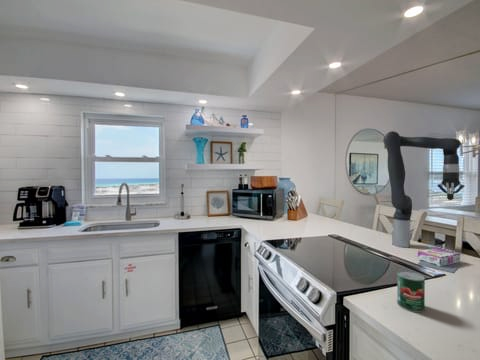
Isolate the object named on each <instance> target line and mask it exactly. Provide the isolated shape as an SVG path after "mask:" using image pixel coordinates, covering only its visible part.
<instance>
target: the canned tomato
mask: <svg viewBox="0 0 480 360" xmlns="http://www.w3.org/2000/svg"><path fill="white" fill-rule="evenodd" d="M396 274H397V278H396V279H397V280H396V281H397V285H396V286H397V289H396V291H397V295H396V296H397V297H396V299H397V301H396V302H397V303H396V304H397V305H398V306H399V307H400V308H402V309H404V310H406V311H408V312H412V313H423V312H425V311H426V310H425V308H426V307H425V305H426V304H425V301H426V299H425V297H426V296H425V293H426V292H425V291H426V290H425V288H426V286H425V285H426V283H425V282H426V280H425V279H426V278H425V276H424V275H422V274H420V273H417V272H414V271H410V270H399V271H397V273H396Z"/></svg>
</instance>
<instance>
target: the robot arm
mask: <svg viewBox="0 0 480 360" xmlns="http://www.w3.org/2000/svg"><path fill="white" fill-rule="evenodd" d="M383 143H384V145H385V146H386V152H387V172H388V177H389V184H390V192H391V205H392V206H393V207H394V208H395V212H394V214H393V216H392V218H393V224H392V225H393V226H392V230H391V245H392V246H395V247H399V248H410V247H411V217H412V215H413V214H412V212H413V211H412V210H413V201H412V198H411V197H410V196H409V195H407V194H406V193H405V181H406V169H405V168H406V167H405V163H404V158H403V154H402V151H401V149H402V148H401V147H410V148H411V147H412V148H420V149H421V148H422V149H429V150H436V149H438V150H442V155H443V166H442V181H441V182H440V183H439V184H437V187H438V188H439V189H440V190H441V191H442V192H443V193H445V194H446V196H447V197H446V199H447V200H448V201H453V200H455V199H454V197H455V196H454V195H455V194H458V193H460V191H461V190H462V189H464V187H465V185H464V184H462V183H461V181H460V156H459V155H458V149H459V148H460V147H461V146H462V144H461V141H460V140H459V139H458V138H452V137H450V138H449V137H430V136H429V137H428V136H415V137H414V136H413V137H411V136H402V135H400V134H399V133H398V132H397V131H392V130H391V131H388V132H387V133H386V134H385V135H384V137H383ZM443 186H444V187H443ZM457 187H458V188H457ZM455 188H457V189H456V190H455Z"/></svg>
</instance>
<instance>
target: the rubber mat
mask: <svg viewBox="0 0 480 360" xmlns="http://www.w3.org/2000/svg"><path fill="white" fill-rule="evenodd" d="M417 265H418V266H421V267H426V268H431V269H433V270H434V269H435V270H439V271H442V272H446V273H451V274H454V273H455V271H456V270H457V269H458V268H459V267H460V266H461V265H462V263H461V262H459V263H455V264H450V265H445V266H437V265H434V264H431V263H428V262H425V261H422V260H419V262H417Z"/></svg>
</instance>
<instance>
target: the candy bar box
mask: <svg viewBox="0 0 480 360" xmlns="http://www.w3.org/2000/svg"><path fill="white" fill-rule="evenodd" d="M417 260H419V261H425V262H428V263H431V264H434V265H437V266H445V265H450V264H455V263H461V253H460V252H459V253H458V252H454V251H451V250H447V249H443V248H439V247H434V248H428V249H427V248H426V249H422V250H421V249H420V250H417Z"/></svg>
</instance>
